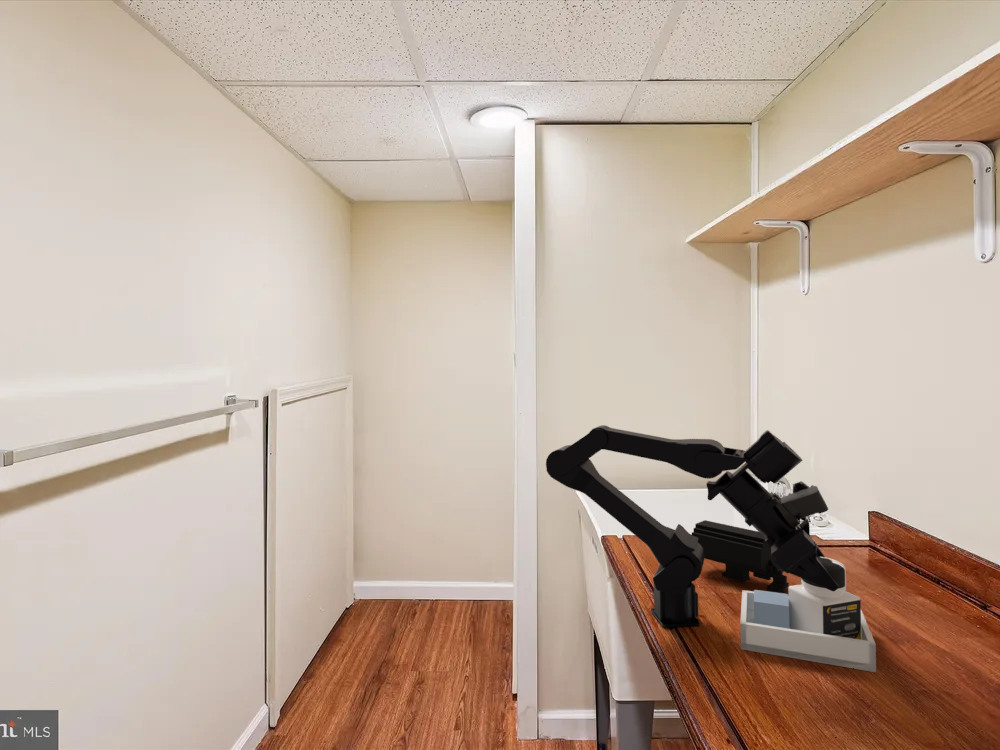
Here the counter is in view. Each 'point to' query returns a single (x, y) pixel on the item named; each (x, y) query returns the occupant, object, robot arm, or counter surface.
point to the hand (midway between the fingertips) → (832, 578)
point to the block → (771, 609)
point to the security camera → (739, 553)
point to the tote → (806, 642)
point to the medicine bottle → (825, 605)
